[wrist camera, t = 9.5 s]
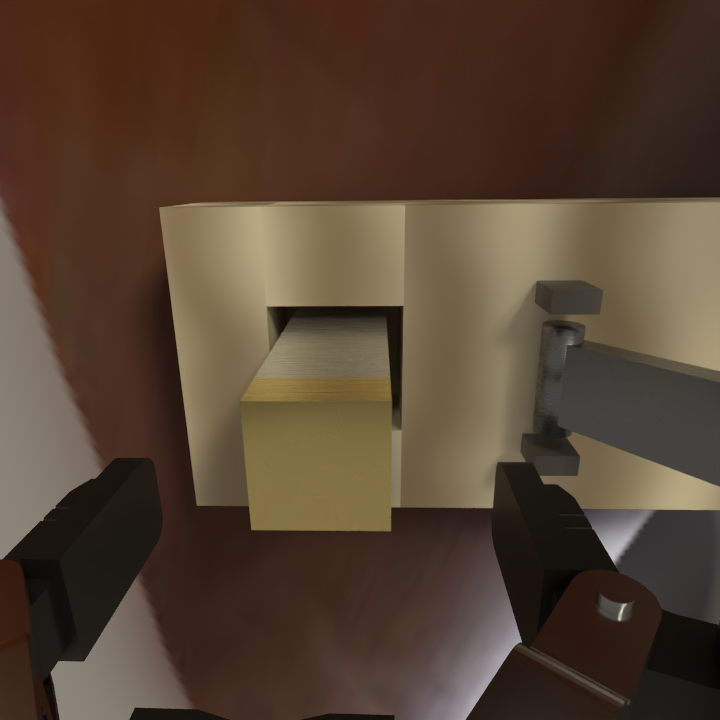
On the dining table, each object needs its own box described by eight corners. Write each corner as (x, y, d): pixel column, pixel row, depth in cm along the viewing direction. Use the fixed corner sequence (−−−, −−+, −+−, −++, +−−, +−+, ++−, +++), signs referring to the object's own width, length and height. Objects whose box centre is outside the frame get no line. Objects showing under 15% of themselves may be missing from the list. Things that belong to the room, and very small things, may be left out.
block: (767, 196, 22) (925, 203, 16) (710, 450, 26) (819, 539, 20) (203, 202, 23) (136, 210, 17) (228, 448, 27) (181, 532, 21)
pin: (384, 297, 23) (391, 401, 12) (384, 374, 25) (390, 531, 14) (303, 298, 24) (239, 401, 13) (307, 374, 25) (251, 530, 14)
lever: (1006, 411, 11) (1001, 430, 11) (942, 565, 13) (934, 593, 12) (557, 318, 19) (534, 324, 18) (545, 418, 21) (524, 428, 20)
